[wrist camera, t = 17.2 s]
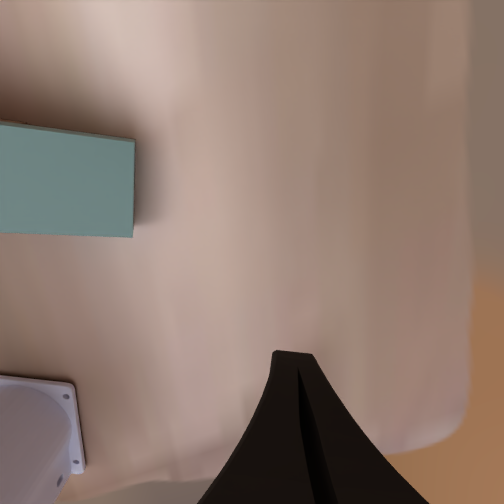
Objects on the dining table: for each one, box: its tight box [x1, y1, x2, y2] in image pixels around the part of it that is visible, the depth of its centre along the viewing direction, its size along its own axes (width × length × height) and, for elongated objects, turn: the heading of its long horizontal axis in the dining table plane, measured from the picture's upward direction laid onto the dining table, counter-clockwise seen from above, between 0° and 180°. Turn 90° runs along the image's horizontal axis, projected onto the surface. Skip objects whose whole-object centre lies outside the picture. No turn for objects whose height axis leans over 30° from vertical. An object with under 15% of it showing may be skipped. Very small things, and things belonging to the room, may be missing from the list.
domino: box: [0, 121, 135, 238], centre depth 16 cm, size 5×2×10 cm
